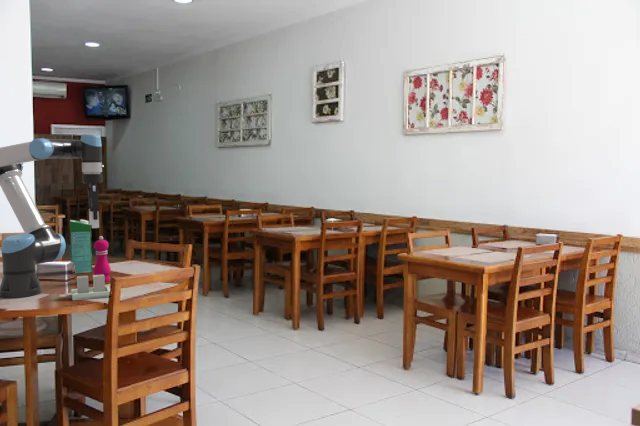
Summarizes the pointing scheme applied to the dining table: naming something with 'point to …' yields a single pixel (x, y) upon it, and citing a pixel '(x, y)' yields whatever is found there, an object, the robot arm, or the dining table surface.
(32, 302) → the dining table surface
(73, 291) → the bin
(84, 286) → the stone
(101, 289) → the stone
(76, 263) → the milk carton
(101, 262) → the pepper mill
